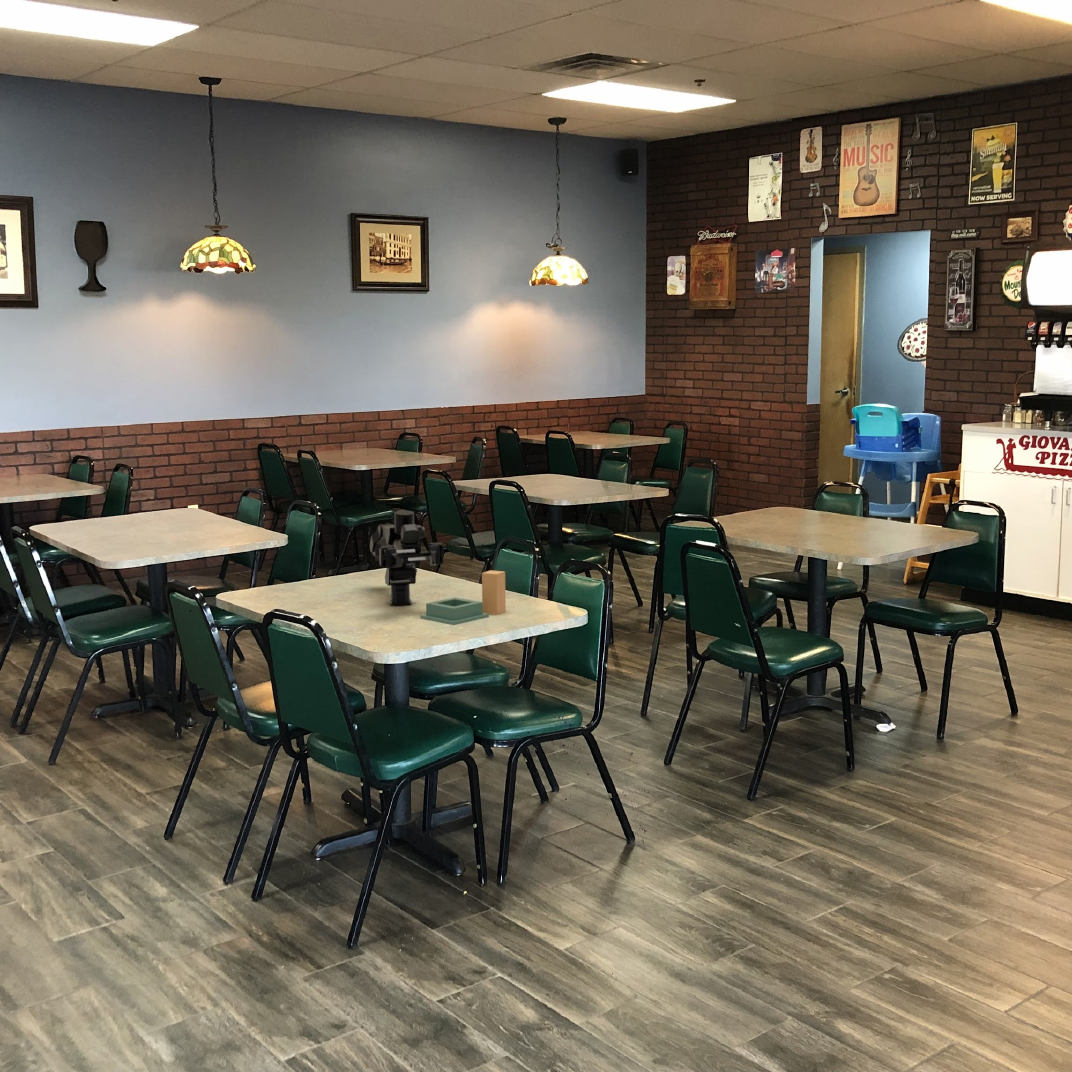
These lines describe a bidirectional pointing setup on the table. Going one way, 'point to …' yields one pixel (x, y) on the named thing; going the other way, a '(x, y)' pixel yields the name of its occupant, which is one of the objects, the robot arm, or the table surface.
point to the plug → (493, 592)
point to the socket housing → (454, 611)
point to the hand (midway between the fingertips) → (418, 563)
